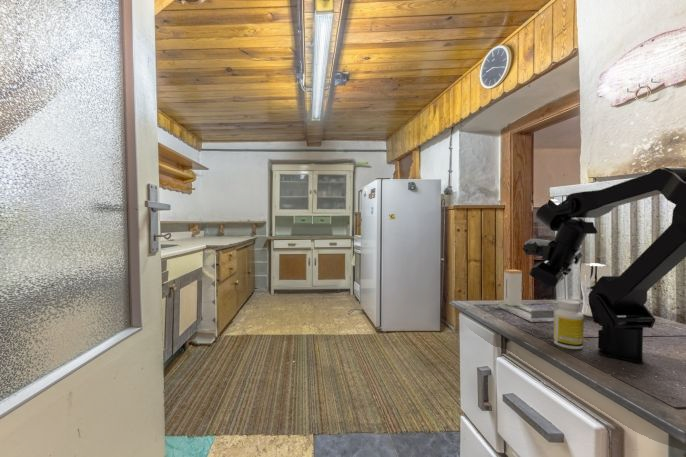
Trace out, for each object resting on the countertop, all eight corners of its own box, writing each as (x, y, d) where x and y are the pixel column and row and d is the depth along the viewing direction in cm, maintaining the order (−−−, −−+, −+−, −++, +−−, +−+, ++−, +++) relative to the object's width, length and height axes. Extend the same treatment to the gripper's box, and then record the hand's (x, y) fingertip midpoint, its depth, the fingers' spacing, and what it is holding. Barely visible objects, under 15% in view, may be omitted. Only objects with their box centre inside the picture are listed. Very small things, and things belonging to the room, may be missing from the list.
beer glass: (585, 317, 93) (586, 265, 93) (575, 311, 100) (576, 262, 100) (614, 319, 91) (615, 266, 91) (602, 312, 98) (603, 263, 98)
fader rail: (555, 321, 89) (555, 310, 89) (531, 321, 89) (531, 311, 88) (519, 306, 105) (519, 297, 105) (498, 307, 104) (498, 297, 104)
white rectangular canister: (521, 305, 101) (522, 270, 101) (509, 305, 101) (509, 271, 101) (515, 303, 104) (516, 269, 104) (503, 303, 104) (504, 269, 104)
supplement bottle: (589, 350, 69) (590, 304, 69) (563, 349, 69) (564, 304, 69) (571, 340, 75) (572, 298, 74) (548, 340, 75) (548, 298, 74)
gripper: (548, 218, 91) (529, 263, 99) (519, 238, 80) (500, 287, 88) (593, 234, 84) (569, 281, 92) (568, 259, 73) (543, 310, 81)
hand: (545, 289), depth 88 cm, fingers closed
